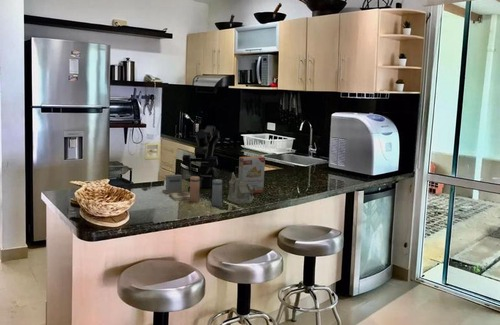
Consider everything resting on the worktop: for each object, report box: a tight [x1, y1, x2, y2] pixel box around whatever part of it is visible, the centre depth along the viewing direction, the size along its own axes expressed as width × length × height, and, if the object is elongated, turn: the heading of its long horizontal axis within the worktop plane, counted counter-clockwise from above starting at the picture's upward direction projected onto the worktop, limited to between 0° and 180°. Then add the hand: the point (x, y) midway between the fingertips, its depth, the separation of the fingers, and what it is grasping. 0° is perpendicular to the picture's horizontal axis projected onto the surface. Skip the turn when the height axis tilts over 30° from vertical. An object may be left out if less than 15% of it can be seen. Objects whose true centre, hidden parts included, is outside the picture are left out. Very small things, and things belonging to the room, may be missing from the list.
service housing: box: [162, 174, 186, 195], centre depth 254 cm, size 11×7×10 cm, turn 117°
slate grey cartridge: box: [211, 178, 223, 207], centre depth 229 cm, size 5×5×13 cm
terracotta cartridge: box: [189, 175, 201, 204], centre depth 235 cm, size 5×5×13 cm
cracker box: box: [237, 155, 266, 195], centre depth 258 cm, size 14×6×21 cm, turn 117°
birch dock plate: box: [168, 191, 190, 202], centre depth 243 cm, size 12×11×2 cm
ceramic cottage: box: [227, 172, 255, 205], centre depth 243 cm, size 16×16×15 cm
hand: (197, 173), depth 242 cm, fingers open, 9 cm apart
